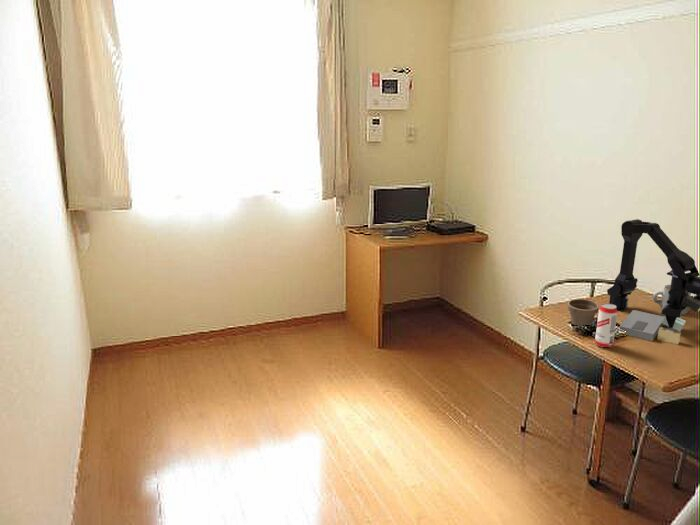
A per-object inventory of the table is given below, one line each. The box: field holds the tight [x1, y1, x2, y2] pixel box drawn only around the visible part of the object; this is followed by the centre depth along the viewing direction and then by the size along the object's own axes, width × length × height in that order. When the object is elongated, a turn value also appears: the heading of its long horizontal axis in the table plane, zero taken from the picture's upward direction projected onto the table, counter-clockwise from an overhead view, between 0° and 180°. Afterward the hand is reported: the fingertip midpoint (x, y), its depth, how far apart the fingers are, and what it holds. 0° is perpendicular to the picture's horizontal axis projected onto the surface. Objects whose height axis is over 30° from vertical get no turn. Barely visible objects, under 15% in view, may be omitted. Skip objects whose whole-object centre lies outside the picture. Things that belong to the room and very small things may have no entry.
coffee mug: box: [652, 284, 692, 315], centre depth 229 cm, size 13×10×10 cm
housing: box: [619, 309, 665, 342], centre depth 214 cm, size 12×20×3 cm, turn 140°
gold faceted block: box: [656, 326, 682, 345], centre depth 203 cm, size 2×7×5 cm, turn 50°
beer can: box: [594, 302, 619, 348], centre depth 199 cm, size 6×6×16 cm
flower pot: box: [567, 298, 600, 326], centre depth 216 cm, size 12×11×10 cm
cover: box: [661, 316, 687, 332], centre depth 211 cm, size 7×5×3 cm
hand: (672, 325), depth 211 cm, fingers closed on cover, 5 cm apart
